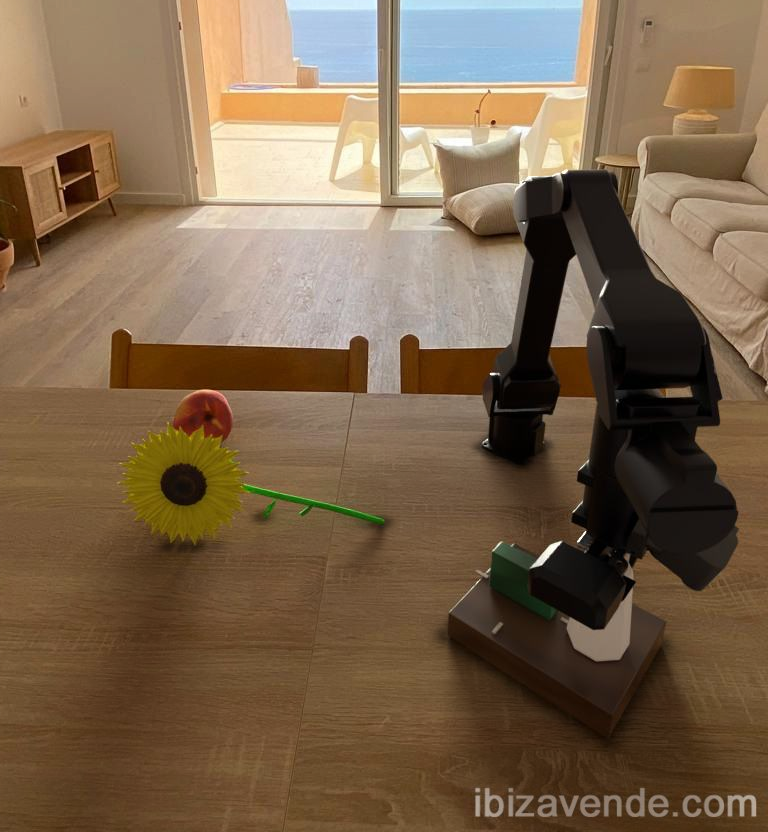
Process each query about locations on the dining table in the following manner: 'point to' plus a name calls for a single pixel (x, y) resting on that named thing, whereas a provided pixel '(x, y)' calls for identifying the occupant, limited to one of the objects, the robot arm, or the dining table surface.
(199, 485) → the decorative plant
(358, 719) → the dining table surface
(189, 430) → the fruit
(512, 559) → the pointer knob
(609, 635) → the pepper shaker
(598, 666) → the dial panel
